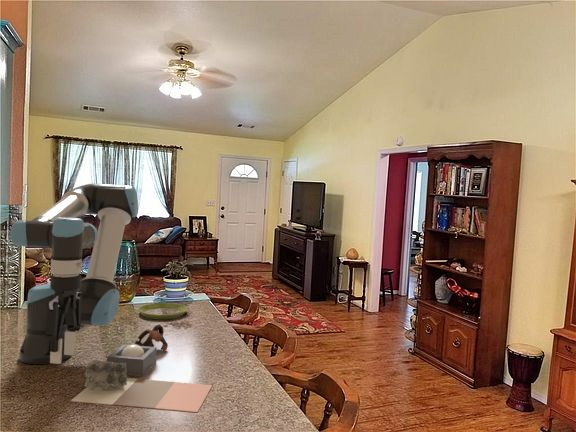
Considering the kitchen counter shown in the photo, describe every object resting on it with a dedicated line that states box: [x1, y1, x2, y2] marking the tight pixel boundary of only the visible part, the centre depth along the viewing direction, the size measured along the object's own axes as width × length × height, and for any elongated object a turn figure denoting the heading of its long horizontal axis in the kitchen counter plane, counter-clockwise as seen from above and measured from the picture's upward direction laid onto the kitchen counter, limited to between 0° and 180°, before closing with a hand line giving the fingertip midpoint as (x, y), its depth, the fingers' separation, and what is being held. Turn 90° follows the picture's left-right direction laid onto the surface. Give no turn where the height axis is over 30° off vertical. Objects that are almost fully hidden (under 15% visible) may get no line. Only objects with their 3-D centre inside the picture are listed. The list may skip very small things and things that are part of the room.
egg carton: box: [84, 359, 128, 390], centre depth 123 cm, size 11×8×4 cm
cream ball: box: [121, 343, 144, 357], centre depth 138 cm, size 7×7×7 cm
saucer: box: [138, 302, 188, 320], centre depth 198 cm, size 21×21×3 cm
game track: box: [70, 377, 213, 414], centre depth 122 cm, size 33×16×1 cm, turn 86°
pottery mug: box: [134, 324, 168, 353], centre depth 154 cm, size 12×9×8 cm
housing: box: [106, 344, 158, 377], centre depth 138 cm, size 11×11×5 cm
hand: (62, 358), depth 123 cm, fingers open, 6 cm apart
